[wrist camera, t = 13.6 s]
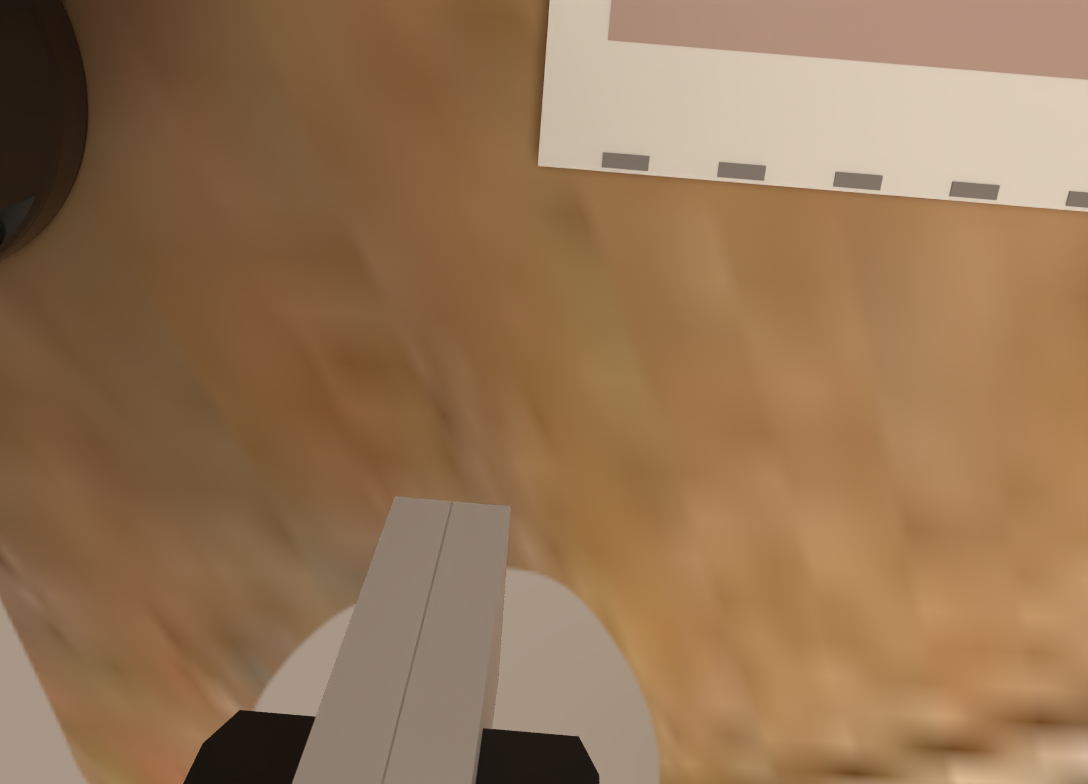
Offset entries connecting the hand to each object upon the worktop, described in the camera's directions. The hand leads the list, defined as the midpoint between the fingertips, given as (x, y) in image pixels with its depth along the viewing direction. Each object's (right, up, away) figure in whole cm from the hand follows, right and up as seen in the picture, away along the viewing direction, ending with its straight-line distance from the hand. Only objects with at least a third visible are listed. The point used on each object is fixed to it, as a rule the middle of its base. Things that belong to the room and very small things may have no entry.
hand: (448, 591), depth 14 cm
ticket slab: (+12, +14, +22) cm, 29 cm away
